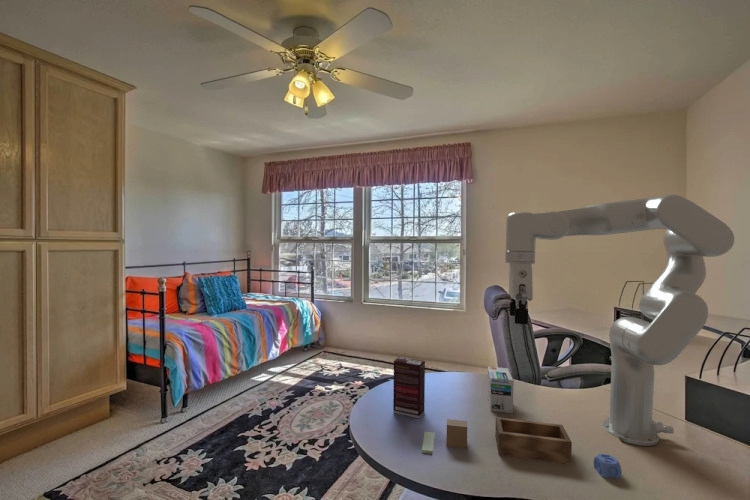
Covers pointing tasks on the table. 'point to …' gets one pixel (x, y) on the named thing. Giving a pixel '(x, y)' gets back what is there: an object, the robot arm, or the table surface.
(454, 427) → the lid
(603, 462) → the decorative dice
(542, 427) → the keepsake box
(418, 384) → the supplement box
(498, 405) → the light bulb box
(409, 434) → the table surface
